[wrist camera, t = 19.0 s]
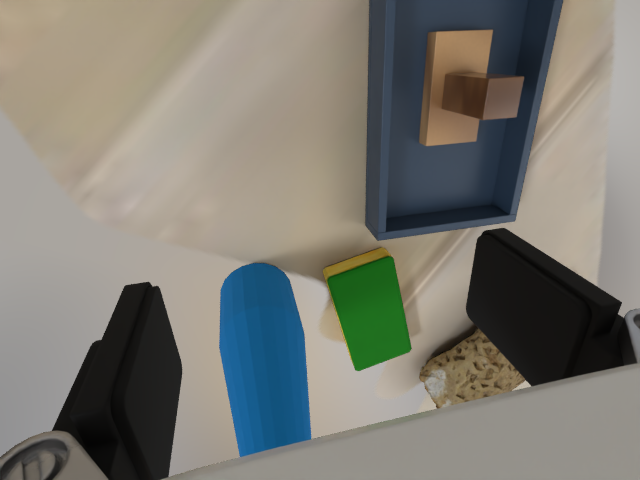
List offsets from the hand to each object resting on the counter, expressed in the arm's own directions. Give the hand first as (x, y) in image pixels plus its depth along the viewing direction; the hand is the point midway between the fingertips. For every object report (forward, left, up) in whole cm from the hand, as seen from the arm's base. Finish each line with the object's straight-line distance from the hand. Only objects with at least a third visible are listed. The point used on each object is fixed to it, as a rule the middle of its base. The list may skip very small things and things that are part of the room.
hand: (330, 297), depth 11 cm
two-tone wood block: (-3, +17, -24) cm, 29 cm away
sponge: (+28, +26, -24) cm, 45 cm away
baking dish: (-3, +17, -24) cm, 30 cm away
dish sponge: (+20, +10, -24) cm, 33 cm away
